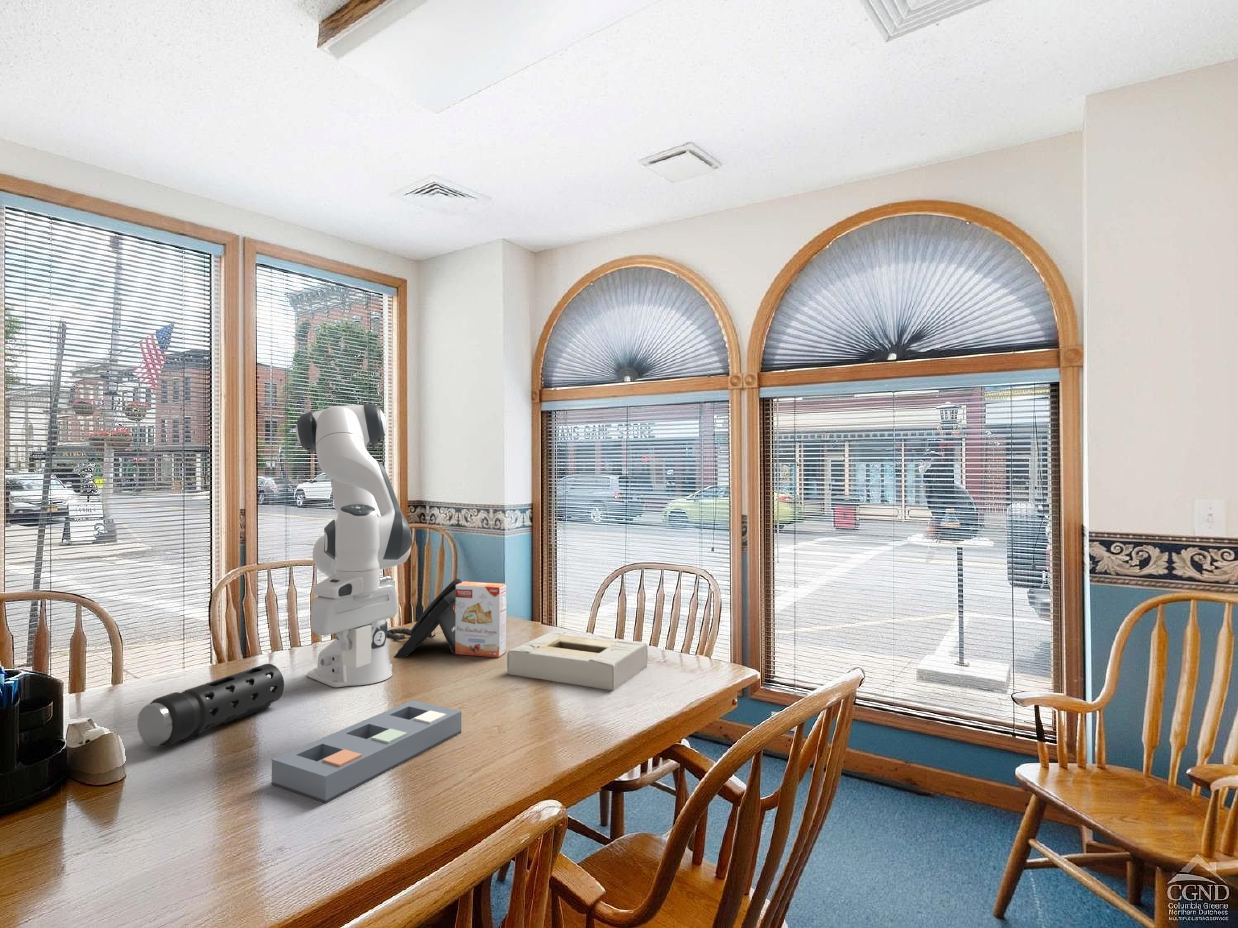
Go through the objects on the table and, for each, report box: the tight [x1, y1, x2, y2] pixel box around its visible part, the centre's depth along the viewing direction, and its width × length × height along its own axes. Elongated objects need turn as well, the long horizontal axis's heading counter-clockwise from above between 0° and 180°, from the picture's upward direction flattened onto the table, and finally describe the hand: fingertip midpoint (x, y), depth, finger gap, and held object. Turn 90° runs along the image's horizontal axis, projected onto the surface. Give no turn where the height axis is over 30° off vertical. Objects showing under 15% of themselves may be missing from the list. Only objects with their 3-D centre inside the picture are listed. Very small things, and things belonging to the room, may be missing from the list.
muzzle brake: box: [137, 663, 285, 748], centre depth 148 cm, size 10×28×10 cm, turn 159°
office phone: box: [387, 578, 463, 659], centre depth 215 cm, size 29×28×20 cm
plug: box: [343, 625, 371, 668], centre depth 146 cm, size 4×4×8 cm
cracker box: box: [455, 581, 507, 658], centre depth 204 cm, size 14×6×21 cm, turn 77°
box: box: [506, 630, 649, 691], centre depth 189 cm, size 23×8×32 cm
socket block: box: [271, 699, 462, 804], centre depth 134 cm, size 14×34×5 cm, turn 152°
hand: (356, 646), depth 146 cm, fingers closed on plug, 4 cm apart
